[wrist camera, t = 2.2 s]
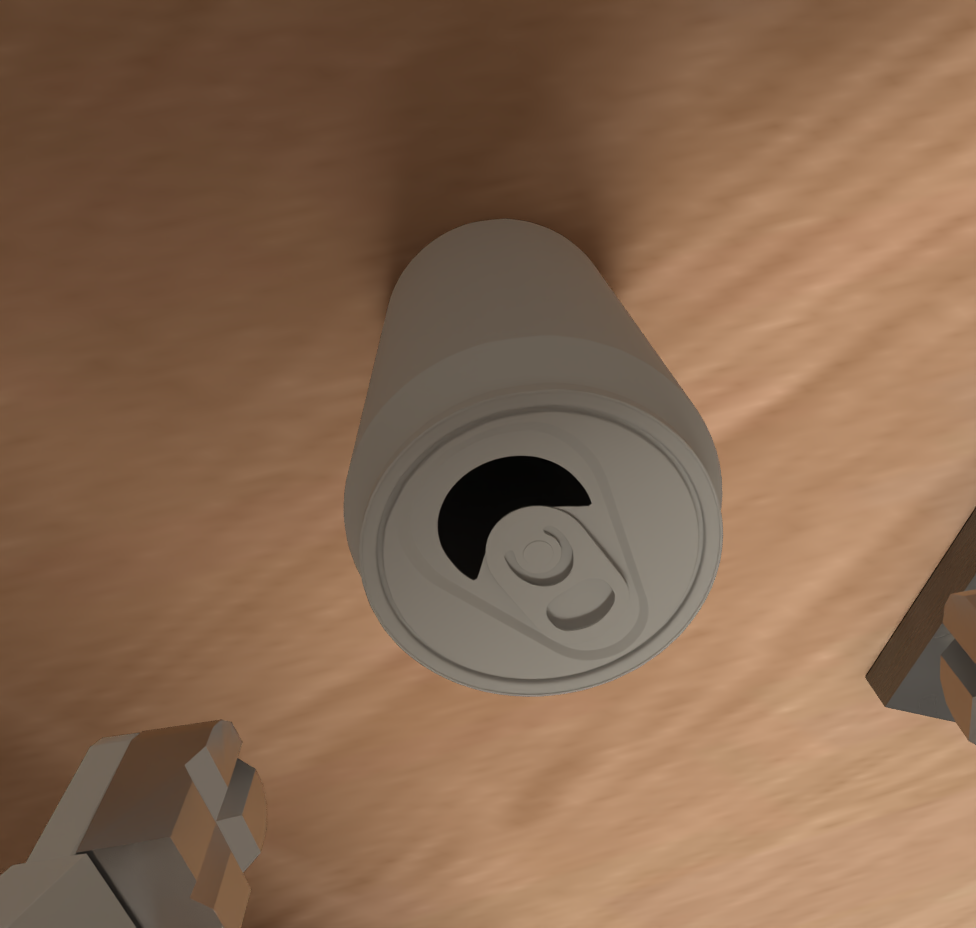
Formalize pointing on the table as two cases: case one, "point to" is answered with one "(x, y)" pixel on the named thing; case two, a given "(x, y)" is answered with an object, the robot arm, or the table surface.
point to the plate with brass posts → (925, 636)
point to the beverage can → (527, 471)
